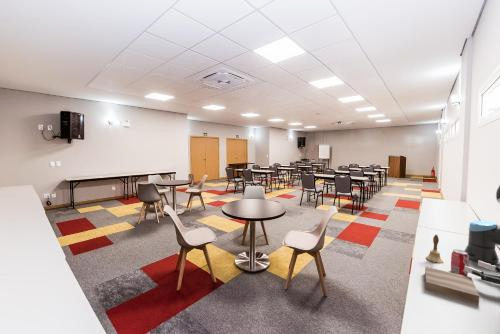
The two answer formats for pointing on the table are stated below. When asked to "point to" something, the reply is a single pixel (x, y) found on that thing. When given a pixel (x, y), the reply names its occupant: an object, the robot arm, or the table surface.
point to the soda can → (459, 262)
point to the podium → (451, 285)
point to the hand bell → (435, 252)
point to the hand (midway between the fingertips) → (471, 265)
